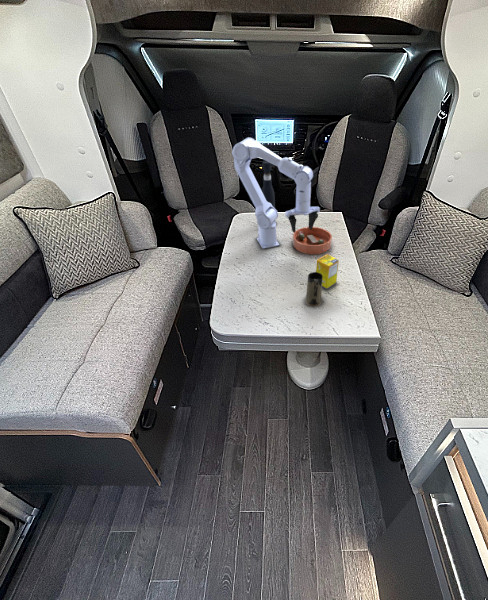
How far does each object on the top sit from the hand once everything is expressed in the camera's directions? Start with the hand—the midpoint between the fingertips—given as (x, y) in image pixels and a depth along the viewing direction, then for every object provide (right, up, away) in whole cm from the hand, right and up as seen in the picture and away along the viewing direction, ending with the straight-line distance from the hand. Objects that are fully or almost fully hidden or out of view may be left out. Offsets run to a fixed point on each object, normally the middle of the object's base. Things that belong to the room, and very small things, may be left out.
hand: (302, 230), depth 145 cm
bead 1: (0, 0, +9) cm, 9 cm away
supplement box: (+9, -24, -14) cm, 29 cm away
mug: (+3, -31, -23) cm, 39 cm away
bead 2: (+8, -3, +7) cm, 11 cm away
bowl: (+5, -5, +9) cm, 11 cm away
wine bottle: (-16, +8, +25) cm, 30 cm away
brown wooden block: (+5, -4, +9) cm, 11 cm away
